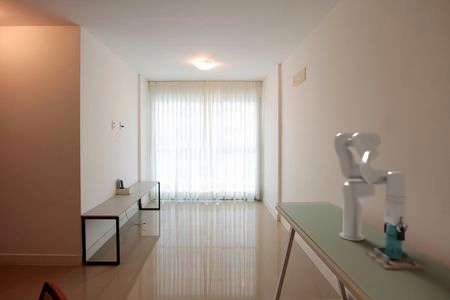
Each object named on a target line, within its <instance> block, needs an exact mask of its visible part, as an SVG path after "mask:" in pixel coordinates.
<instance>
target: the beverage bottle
mask: <svg viewBox="0 0 450 300" xmlns="http://www.w3.org/2000/svg"><path fill="white" fill-rule="evenodd" d="M386 225H387V228H386V233H385V244H384V247H385V255H386V256H388V257H391V258H396V259H399V258H401V253H402V250H403V249H402V247H403V241H397V231H398V230H397V227H396V226H393V225H391V224H389V223H387V224H386ZM400 228H401V227H400Z"/></svg>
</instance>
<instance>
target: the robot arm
mask: <svg viewBox="0 0 450 300" xmlns="http://www.w3.org/2000/svg"><path fill="white" fill-rule="evenodd" d="M381 141H382V139H381V136H380V135H379V134H378V133H376V132H372V131H371V132H368V131H367V132H366V131H364V132H363V131H360V132H359V131H358V132H340V133H337V134H336V136H334V139H333V146H334V150H335V153H336V155H337V157H338V162H339V167H340V171H341V172H340V173H341V176H342V178H344V179H345V180H350V181H346V182H344V183H343V184H342V187H341V192H342V193H341V194H342V199H343V201H342V203H343V204H342V205H343V207H342V209H343V210H342V231H341V232H339V237H340V238H343V239H344V240H349V241H358V242H359V241H363V240H364V239H365V236H364V235H362V221H363V220H362V219H363V218H362V215H363V213H362V212H363V206H362V203H361V202H360V201H359V200H360V199H371V198H373V197H374V196H375V195H376V186H385V201H384V205H383V213H382V220H383V233H384V234H386V228H387V225H386V224H387V223H389V224H391V225H393V226H396V227H397V230H398V231H397V241H402V242H404V241H405V240H406V232H407V230H408V227H409V223H408V222H407V221H406V220H407V219H406V218H407V214H406V213H407V211H406V194H407V193H406V192H407V190H406V189H407V174H406V173H405V172H402V171H396V170H393V169H385V168H384V169H381V168H379V169H378V168H375V169H373V168H372V166H371V165H370V162H371V163H372V162H373V161H374V160H376V159H377V158H378V156H379V155H380V153H379V150H378V149H377V148H378V147H380V145H381ZM349 148H355V150H356V151H357V153H358V155H359V157H360V158H361V159H360V161H359V163H358V162H356V158H355V155H354V153H353V152H352V151H351V150H350V149H349ZM351 180H353V181H351ZM356 180H357V181H356ZM358 180H359V181H358ZM400 227H401V228H400Z"/></svg>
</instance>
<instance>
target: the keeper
mask: <svg viewBox="0 0 450 300" xmlns="http://www.w3.org/2000/svg"><path fill="white" fill-rule="evenodd" d="M401 250H402V253H401V258H399V259H396V258H391V257H388V256H386V255H385V246H384V247H381V246H377V247H375V246H373V247H372V251H366V252H365V253H366V255H367V256H369V257H370V259H372V260H373V261H374V262H376V263H377V264H378V265H380V266H381V267H382V268H383V269H384V270H401V271H403V270H407V271H424V267H423V266H421V265H420V264H418V263H417V261H416V260H417V258H415V257H414V256H412V255H411V254H409V253H407V252H406V251H404V250H403V249H401Z"/></svg>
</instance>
